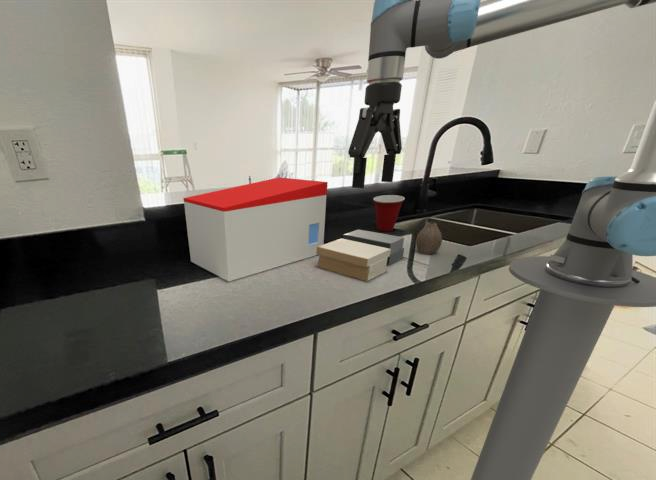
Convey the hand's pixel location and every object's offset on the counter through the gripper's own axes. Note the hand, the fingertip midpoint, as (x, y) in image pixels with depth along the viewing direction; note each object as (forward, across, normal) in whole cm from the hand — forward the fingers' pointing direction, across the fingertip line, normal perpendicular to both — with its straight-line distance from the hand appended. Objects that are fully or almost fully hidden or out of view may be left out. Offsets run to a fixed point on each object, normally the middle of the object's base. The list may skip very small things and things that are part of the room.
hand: (373, 184), depth 82 cm
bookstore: (+21, +14, -27) cm, 37 cm away
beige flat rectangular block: (+17, +4, -2) cm, 18 cm away
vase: (+22, -24, +7) cm, 33 cm away
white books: (+21, +4, -2) cm, 22 cm away
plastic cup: (+22, -41, -16) cm, 49 cm away
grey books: (+21, -10, -3) cm, 24 cm away
